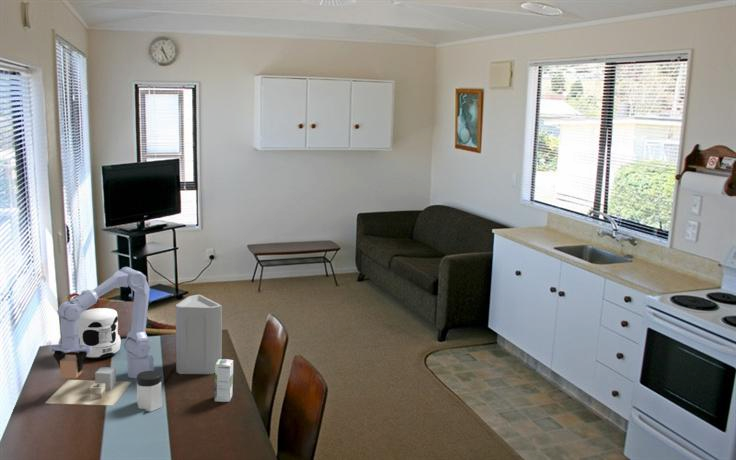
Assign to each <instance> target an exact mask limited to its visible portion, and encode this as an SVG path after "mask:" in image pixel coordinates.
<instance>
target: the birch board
mask: <svg viewBox="0 0 736 460" xmlns="http://www.w3.org/2000/svg"><path fill="white" fill-rule="evenodd" d="M94 383H95V380H88V379H87V380H86V379H84V380H83V379H67V381H65V382H64V383H63V384H62V385H61V387H59V388H58V389H57V390H56V391H55V392H54V393H53V394H52V395H51V396H50V397H49V398H48V399H47V400H46V401H45V402H44V404H51V405H52V404H53V405H54V404H55V405H57V404H58V405H61V404H62V405H85V406H86V405H87V406H114V405H115V404H116V402H118V400H119V399H120V397H122V395H123V394H124V393H125V392H126V390H127V389H128V387H129V386H130V384H132V381H123V380H122V381H121V380H120V381H117V380H116V384H115V386H114V387H113V388H112V389H111V390H105V393H106V394H105V395H104V396H103V397H102V399H101V398H90V387H91V386H92V385H93V384H94Z"/></svg>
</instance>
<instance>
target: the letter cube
mask: <svg viewBox="0 0 736 460" xmlns="http://www.w3.org/2000/svg"><path fill="white" fill-rule="evenodd" d="M105 394H106V393H105V383H94V384H93V385H92V386H91V387H90V398H101V399H102V397H103V396H104V395H105Z"/></svg>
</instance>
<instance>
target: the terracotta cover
mask: <svg viewBox="0 0 736 460" xmlns="http://www.w3.org/2000/svg"><path fill="white" fill-rule="evenodd" d="M76 355H77V354H65V357H63V358H62V359H61V360H60V367H59V369H60V370H59V372H60V374H59V375H60V378H61V379H77V378H78V377H79V376H80V375H81V374H82V373H83V370H82V371H81V372H78V362H77V358H76Z"/></svg>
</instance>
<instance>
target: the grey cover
mask: <svg viewBox="0 0 736 460" xmlns="http://www.w3.org/2000/svg"><path fill="white" fill-rule="evenodd" d="M116 379H117V369H116V367H110V366H109V367H108V366H107V367H106V366H101V367H99V368H98V369H97V370H96V371H95V373H94V381H95V383H105V390H111V389H112V388H113V387H114V386H115V384H116V381H117V380H116Z"/></svg>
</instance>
